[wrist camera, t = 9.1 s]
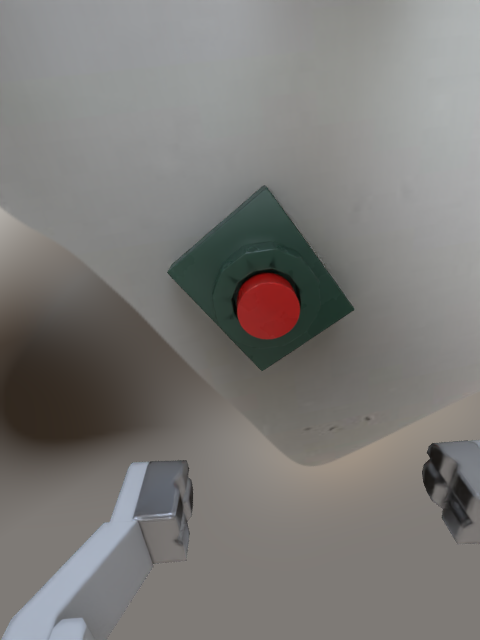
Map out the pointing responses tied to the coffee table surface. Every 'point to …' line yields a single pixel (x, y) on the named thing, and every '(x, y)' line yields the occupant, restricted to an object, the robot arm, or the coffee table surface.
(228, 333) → the button box
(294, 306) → the button
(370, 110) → the coffee table surface
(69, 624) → the robot arm
